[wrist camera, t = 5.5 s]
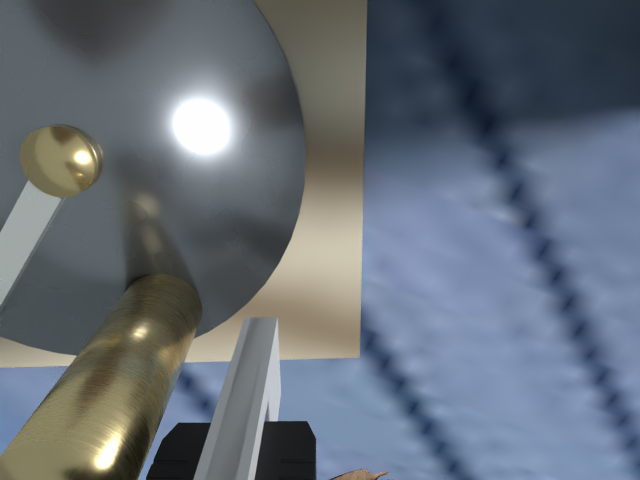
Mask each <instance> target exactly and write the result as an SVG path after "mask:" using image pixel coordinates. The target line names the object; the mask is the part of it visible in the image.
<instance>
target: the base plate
mask: <svg viewBox="0 0 640 480" xmlns="http://www.w3.org/2000/svg"><path fill="white" fill-rule="evenodd" d="M254 1H255V2H256V4H257V5H258V7H259V8H260V10H261V11H262V13H263V14H264V16H265V17H266V19H267V21H268V22H269V24H270V25H271V27H272V28H273V30H274V32H275V34H276V36H277V38H278V40H279V42H280V44H281V46H282V48H283V50H284V52H285V54H286V56H287V58H288V61H289V64H290V67H291V70H292V73H293V75H294V78H295V81H296V84H297V87H298V92H299V96H300V101H301V105H302V110H303V115H304V125H305V137H306V166H305V186H304V192H303V197H302V203H301V208H300V214H299V217H298V220H297V223H296V226H295V229H294V232H293V235H292V238H291V240H290V242H289V245H288V247H287V249H286V251H285V253H284V255H283V257H282V259H281V261H280V263H279V264H278V266H277V267H276V269H275V270H274V272H273V273H272V275H271V276H270V278H269V279H268V281H267V282H266V284H265V285H264V286H263V287H262V288H261V289H260V290H259V291H258V293H257V294H256V295H255V296H254V297H253V298H252V299H251V300H250V301H249V303H247V304H246V305H245V306H244V307H243V308H242V309H240V310H239V311H238V312H237V313H236V314H234V315H233V316H232V317H231V318H230V319H228V320H227V321H225V322H223V323H222V324H220V325H219V326H217V327H216V328H214V329H212V330H211V331H209V332H208V333H205V334H203V335H201V336H199V337H197V338H195V339H193V341H192V344H191V346H190V349H189V351H188V354H187V356H186V359H185V361H184V362H217V361H231V359H232V356H233V353H234V350H235V346H236V343H237V340H238V337H239V334H240V331H241V327H242V324H243V321H244V318H245V317H278V339H279V360H288V359H323V358H358V357H360V316H361V270H362V224H363V178H364V132H365V86H366V40H367V0H254ZM75 358H76V356H75V355H67V354H60V353H54V352H50V351H46V350H41V349H37V348H33V347H29V346H26V345H23V344H20V343H17V342H14V341H11V340H9V339H6V338H3V337H0V368H5V367H40V366H70V364H71V363H72V362H73V360H74V359H75Z"/></svg>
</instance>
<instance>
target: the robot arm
mask: <svg viewBox="0 0 640 480" xmlns="http://www.w3.org/2000/svg"><path fill="white" fill-rule="evenodd" d="M280 398H281V383H280V361H279V339H278V317H245V318H244V321H243V324H242V327H241V331H240V334H239V337H238V340H237V343H236V346H235V350H234V353H233V356H232V359H231V362H230V365H229V369H228V372H227V375H226V378H225V381H224V384H223V387H222V391H221V394H220V397H219V400H218V403H217V406H216V410H215V413H214V416H213V419H212V422H211V423H178V424H177V425H176V426H175V427H174V428H173V429H172V430H171V431H170V432H169V433H168V434H167V436H166V437H165V438H164V439H163V440H162V442H161V444H160V446H159V449H158V451H157V453H156V456H155V458H154V462H153V464H152V465H151V467H150V470H149V472H148V474H147V477H146V480H316V438H315V436H314V434H313V432H312V430H311V428H310V426H309V424H308V422H307V421H278V413H279V405H280Z"/></svg>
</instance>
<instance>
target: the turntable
mask: <svg viewBox="0 0 640 480" xmlns="http://www.w3.org/2000/svg"><path fill="white" fill-rule="evenodd" d="M305 166H306V137H305V125H304V115H303V110H302V105H301V101H300V96H299V92H298V87H297V84H296V81H295V78H294V75H293V73H292V70H291V67H290V64H289V61H288V58H287V56H286V54H285V52H284V50H283V48H282V46H281V44H280V42H279V40H278V38H277V36H276V34H275V32H274V30H273V28H272V27H271V25H270V24H269V22H268V21H267V19H266V17H265V16H264V14H263V13H262V11H261V10H260V8H259V7H258V5H257V4H256V2H255V1H254V0H0V337H3V338H6V339H9V340H11V341H14V342H17V343H20V344H23V345H26V346H29V347H33V348H37V349H41V350H46V351H50V352H54V353H60V354H67V355H75V356H76V358H75V359H74V360H73V362H72V363H71V364H70V366H69V367H68V368H67V370H66V371H65V372H64V373H63V375H62V376H61V377H60V379H59V380H58V381H57V383H56V384H55V385H54V387H53V388H52V389H51V391H50V392H49V393H48V395H47V396H46V397H45V399H44V400H43V401H42V402H41V404H40V405H39V406H38V408H37V409H36V410H35V412H34V413H33V414H32V416H31V417H30V418H29V420H28V421H27V422H26V424H25V425H24V426H23V428H22V429H21V430H20V431H19V433H18V434H17V435H16V437H15V438H14V439H13V441H12V442H11V443H10V445H9V446H8V447H7V449H6V450H5V451H4V453H3V454H2V455H1V457H0V480H138V478H139V475H140V473H141V470H142V468H143V465H144V462H145V460H146V457H147V455H148V452H149V450H150V447H151V445H152V442H153V440H154V437H155V435H156V432H157V430H158V427H159V425H160V422H161V420H162V417H163V414H164V412H165V409H166V407H167V404H168V402H169V399H170V397H171V394H172V392H173V389H174V387H175V384H176V382H177V379H178V377H179V374H180V372H181V369H182V367H183V364H184V361H185V359H186V356H187V354H188V351H189V349H190V346H191V344H192V341H193V339H195V338H197V337H199V336H201V335H203V334H205V333H208V332H209V331H211V330H212V329H214V328H216V327H217V326H219V325H220V324H222V323H223V322H225V321H227V320H228V319H230V318H231V317H232V316H233V315H234V314H236V313H237V312H238V311H239V310H240V309H242V308H243V307H244V306H245V305H246V304H247V303H249V301H250V300H251V299H252V298H253V297H254V296H255V295H256V294H257V293H258V291H259V290H260V289H261V288H262V287H263V286H264V285H265V284H266V282H267V281H268V279H269V278H270V276H271V275H272V273H273V272H274V270H275V269H276V267H277V266H278V264H279V263H280V261H281V259H282V257H283V255H284V253H285V251H286V249H287V247H288V245H289V242H290V240H291V238H292V235H293V232H294V229H295V226H296V223H297V220H298V217H299V214H300V208H301V203H302V197H303V192H304V186H305Z"/></svg>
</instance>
